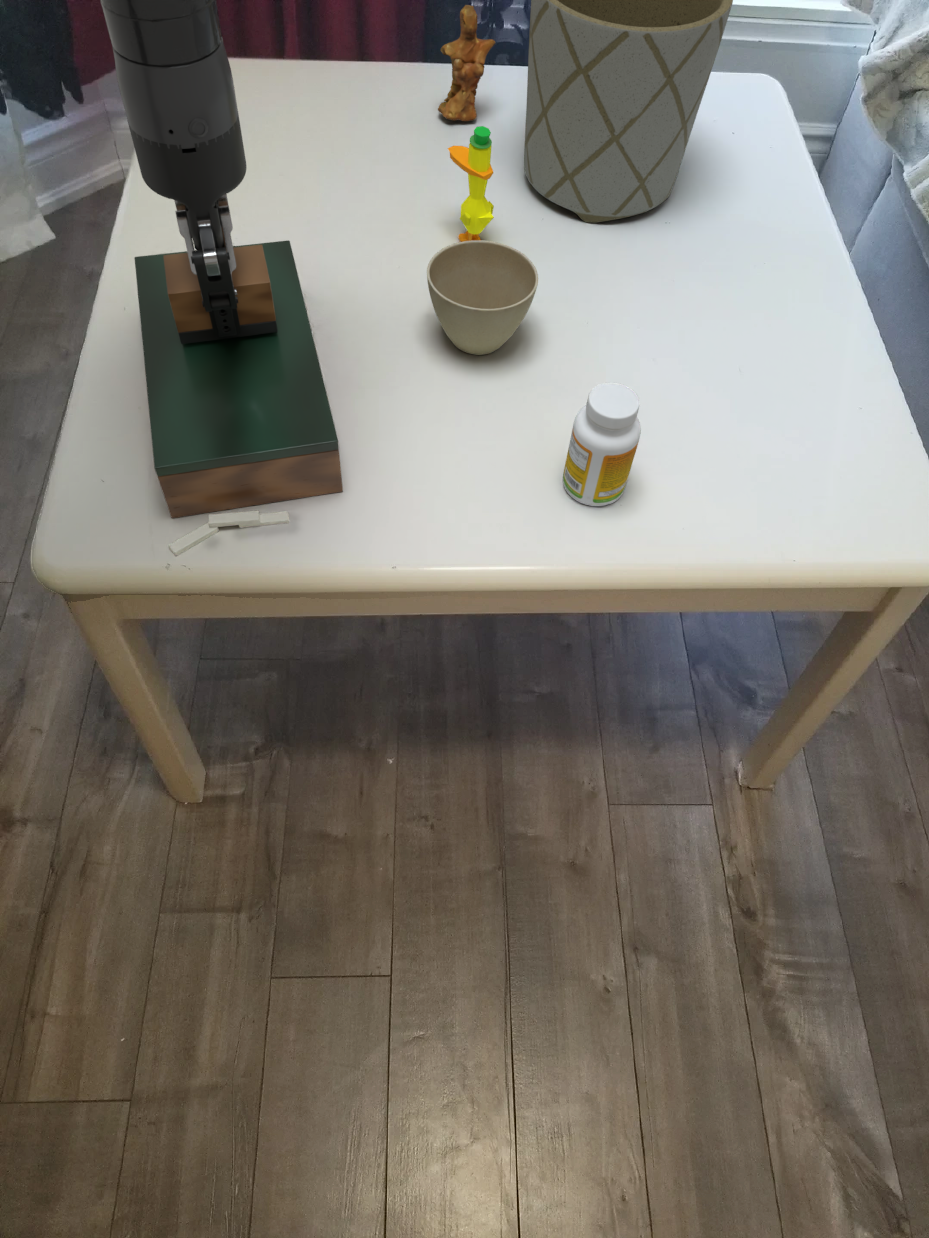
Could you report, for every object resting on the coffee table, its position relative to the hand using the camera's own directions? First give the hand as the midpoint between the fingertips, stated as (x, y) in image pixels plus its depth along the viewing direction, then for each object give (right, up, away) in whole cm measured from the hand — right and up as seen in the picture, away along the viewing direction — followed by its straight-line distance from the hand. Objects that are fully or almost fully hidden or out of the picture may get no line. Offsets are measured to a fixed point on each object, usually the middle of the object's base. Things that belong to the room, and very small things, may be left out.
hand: (224, 312), depth 77 cm
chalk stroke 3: (+4, -18, -3) cm, 18 cm away
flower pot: (+22, +1, +11) cm, 24 cm away
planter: (+35, +24, +26) cm, 50 cm away
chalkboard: (0, -6, +5) cm, 8 cm away
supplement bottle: (+31, -14, +1) cm, 35 cm away
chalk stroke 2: (+2, -18, -4) cm, 18 cm away
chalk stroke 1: (-1, -19, -5) cm, 20 cm away
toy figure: (+21, +14, +19) cm, 31 cm away
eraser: (0, 0, +1) cm, 1 cm away
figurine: (+20, +34, +32) cm, 50 cm away
